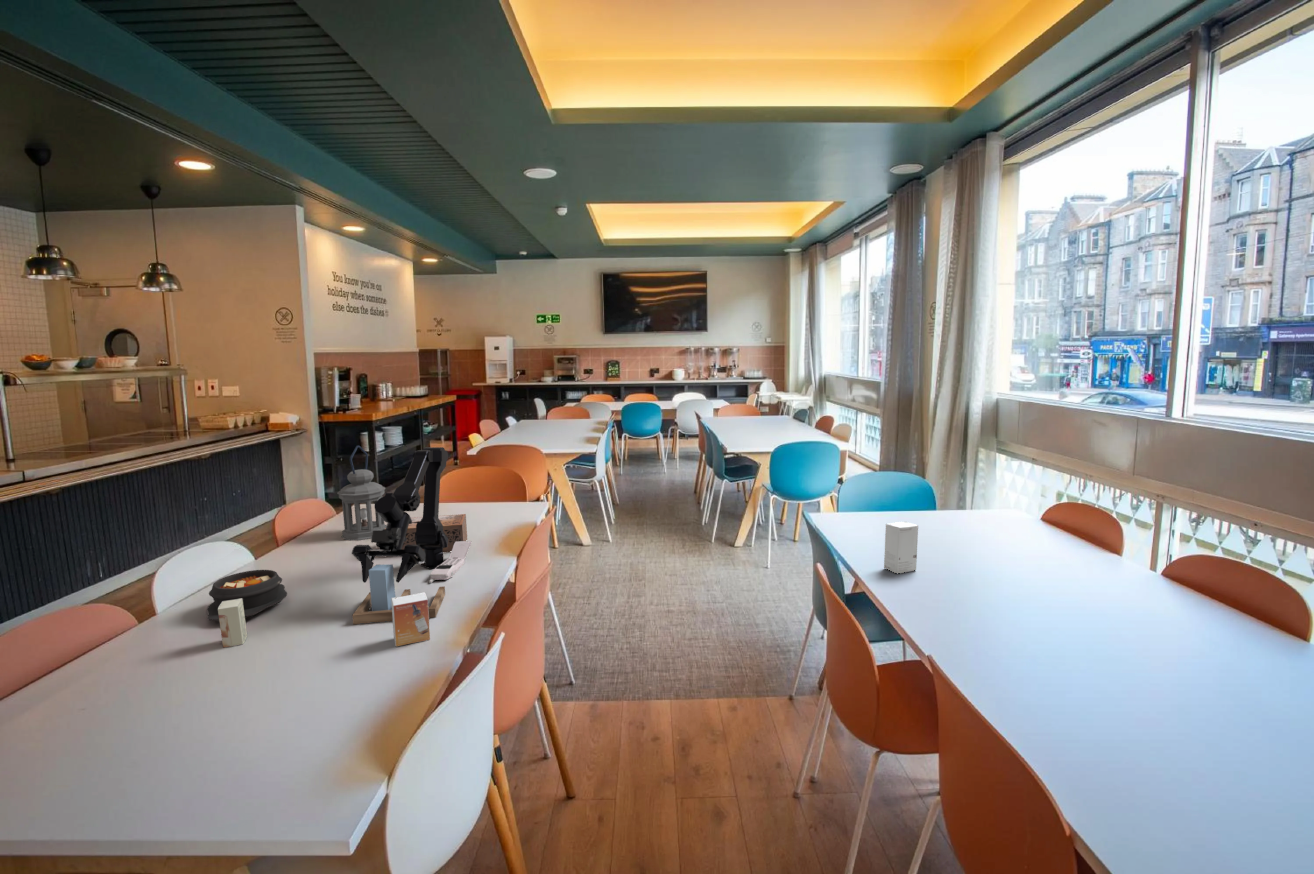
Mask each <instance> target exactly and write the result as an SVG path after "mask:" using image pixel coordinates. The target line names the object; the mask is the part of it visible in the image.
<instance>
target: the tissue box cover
mask: <svg viewBox="0 0 1314 874" xmlns="http://www.w3.org/2000/svg"><path fill="white" fill-rule="evenodd" d="M422 518H423V516H417V517H415V516H414V517H411V520H412V524H409V526H408V529H407V532H406V536H405V537H406V538H407V540H406V542H404V543H403V546H402V549H404V548H405V546H406V545H416V541H415V533H416V525H417V523H419V522H420V521H421V519H422ZM438 518H439V520H440V522H441V523H442V525H443V532H444V533H445V535H446V536H447V537H448V547H446V548H443V552H446V553H451V552H450V551H452V549H453V546H454V543H455V542H459V541H466V540H467V541H468V530H467V514H466V513H463V514H462V513H461V514H448V515H447V514H444V515H438ZM385 529H386V528H385ZM423 551H424V549H423ZM385 557H386V558H391V557H393V556H385Z"/></svg>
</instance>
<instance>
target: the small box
mask: <svg viewBox="0 0 1314 874" xmlns="http://www.w3.org/2000/svg"><path fill="white" fill-rule="evenodd" d="M391 602H392V617H393V621H392V629H393V631H392V632H393V640H394V645H395V647H399V646H405V645H409V644H414V643H420V642H426V640H427V641H430V640H431V629H430V618H429V611H428V607H429V600H428V597H427V594H426V592H424V591H423V592H419V593H413V594H411V595H408V596H402V597H401V596H397V597H396V596H395V598H391Z"/></svg>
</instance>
